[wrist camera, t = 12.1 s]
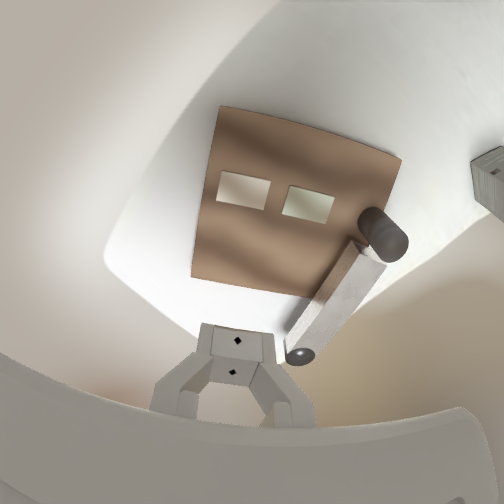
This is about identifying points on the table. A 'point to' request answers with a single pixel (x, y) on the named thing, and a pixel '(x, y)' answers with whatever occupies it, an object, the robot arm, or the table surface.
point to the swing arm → (333, 303)
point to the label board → (289, 204)
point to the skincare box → (490, 181)
